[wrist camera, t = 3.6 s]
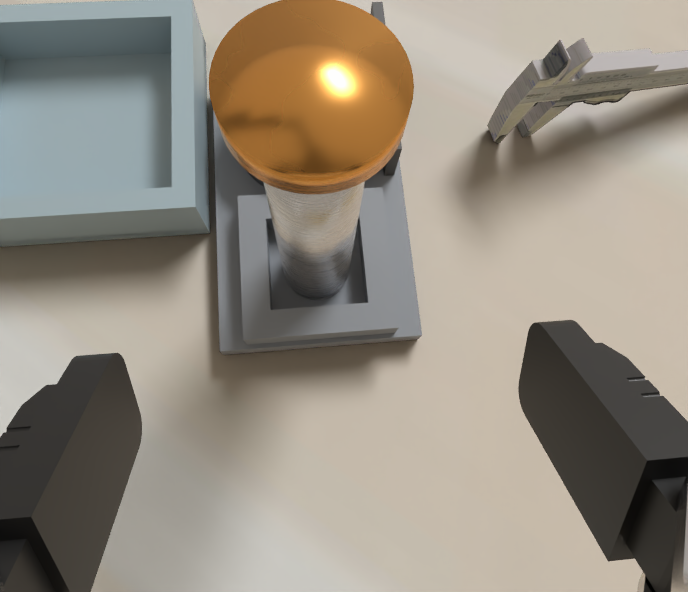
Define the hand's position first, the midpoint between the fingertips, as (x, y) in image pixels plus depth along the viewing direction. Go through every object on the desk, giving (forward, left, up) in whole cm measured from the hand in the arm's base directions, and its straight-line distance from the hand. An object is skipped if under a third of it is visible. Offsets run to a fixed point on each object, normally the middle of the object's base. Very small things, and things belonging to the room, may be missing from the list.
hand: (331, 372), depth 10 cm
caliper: (+20, +15, -14) cm, 28 cm away
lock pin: (0, +6, -12) cm, 14 cm away
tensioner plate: (0, +10, -13) cm, 16 cm away
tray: (-10, +14, -13) cm, 22 cm away
